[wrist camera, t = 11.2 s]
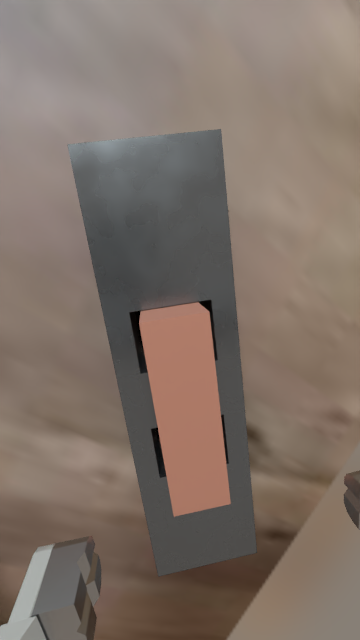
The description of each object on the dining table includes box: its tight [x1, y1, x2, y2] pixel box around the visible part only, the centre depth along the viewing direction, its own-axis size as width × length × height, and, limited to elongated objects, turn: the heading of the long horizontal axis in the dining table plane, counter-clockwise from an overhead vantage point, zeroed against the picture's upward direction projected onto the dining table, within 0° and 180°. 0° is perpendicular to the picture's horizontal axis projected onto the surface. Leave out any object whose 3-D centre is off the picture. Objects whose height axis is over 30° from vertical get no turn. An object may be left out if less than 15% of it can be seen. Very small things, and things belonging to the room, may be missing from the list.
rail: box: [68, 129, 257, 577], centre depth 19 cm, size 30×8×4 cm, turn 8°
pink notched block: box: [139, 302, 231, 517], centre depth 18 cm, size 12×4×7 cm, turn 8°
